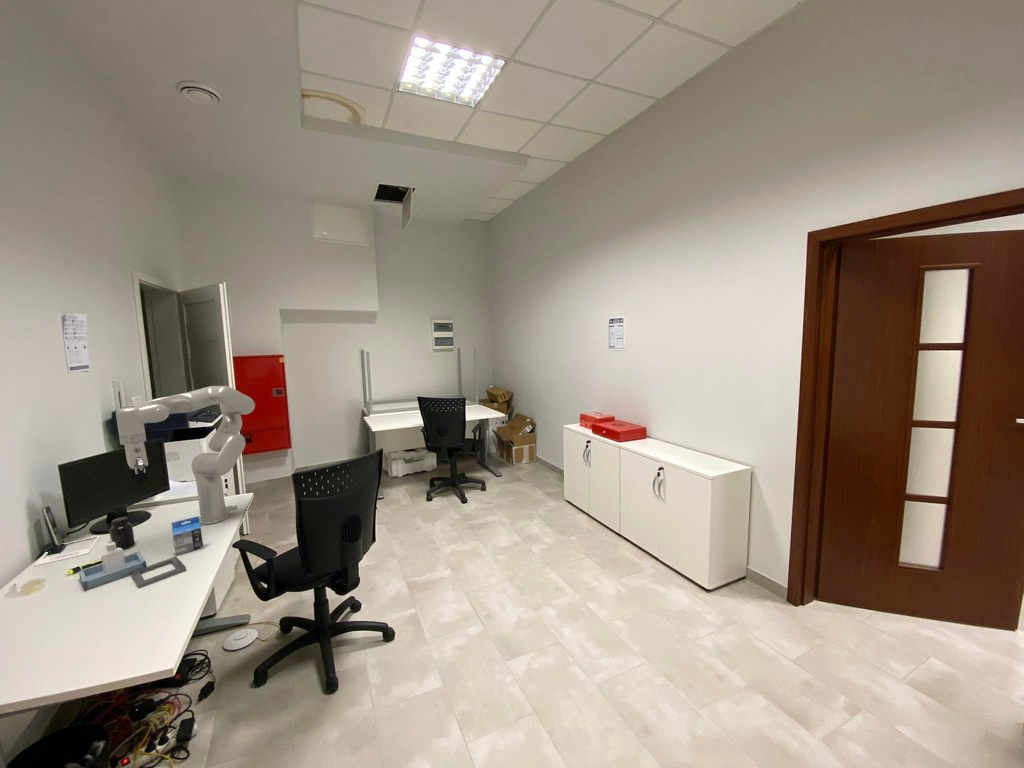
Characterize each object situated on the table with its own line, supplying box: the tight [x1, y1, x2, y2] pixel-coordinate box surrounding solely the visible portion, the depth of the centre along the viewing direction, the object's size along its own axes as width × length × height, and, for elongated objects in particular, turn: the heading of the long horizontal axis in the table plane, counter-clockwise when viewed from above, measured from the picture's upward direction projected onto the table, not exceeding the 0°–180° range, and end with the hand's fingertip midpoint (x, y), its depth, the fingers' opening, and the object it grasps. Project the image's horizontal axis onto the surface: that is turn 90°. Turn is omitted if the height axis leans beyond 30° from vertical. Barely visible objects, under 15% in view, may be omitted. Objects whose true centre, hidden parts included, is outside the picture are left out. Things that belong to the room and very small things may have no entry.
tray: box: [78, 551, 148, 592], centre depth 147 cm, size 16×12×3 cm
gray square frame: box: [130, 555, 187, 589], centre depth 147 cm, size 13×13×1 cm
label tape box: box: [171, 516, 204, 556], centre depth 162 cm, size 9×4×12 cm, turn 130°
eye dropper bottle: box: [100, 539, 126, 574], centre depth 147 cm, size 4×6×12 cm
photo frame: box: [33, 535, 101, 568], centre depth 165 cm, size 15×1×18 cm
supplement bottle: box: [108, 516, 136, 551], centre depth 166 cm, size 7×7×12 cm
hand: (139, 480), depth 162 cm, fingers open, 9 cm apart
